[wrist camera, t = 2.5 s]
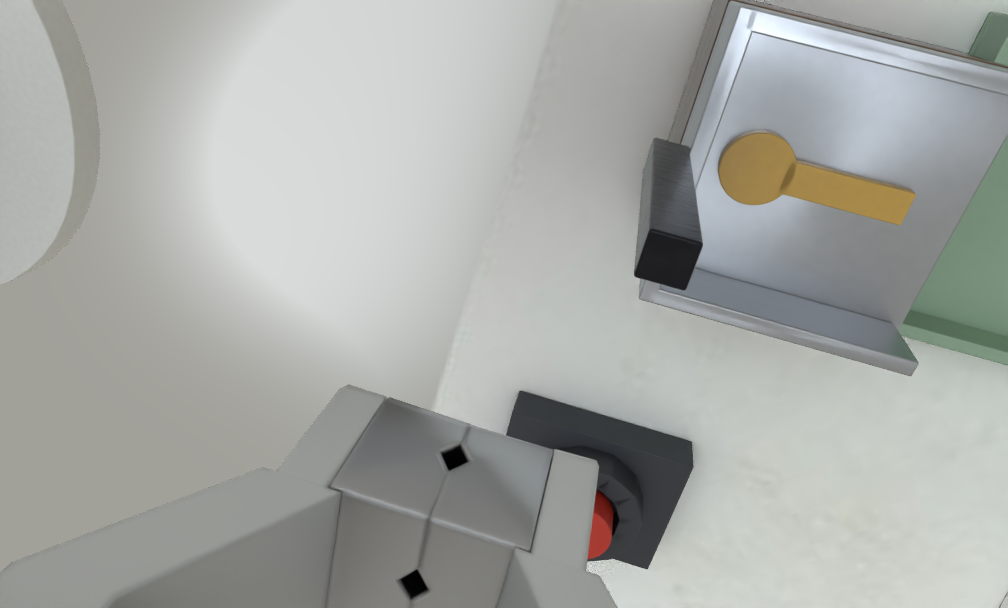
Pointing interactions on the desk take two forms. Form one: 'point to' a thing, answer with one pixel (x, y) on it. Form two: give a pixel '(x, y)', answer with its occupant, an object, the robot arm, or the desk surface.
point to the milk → (1005, 602)
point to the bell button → (600, 526)
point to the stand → (722, 3)
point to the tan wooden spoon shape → (803, 180)
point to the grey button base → (615, 468)
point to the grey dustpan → (827, 142)
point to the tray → (972, 254)
